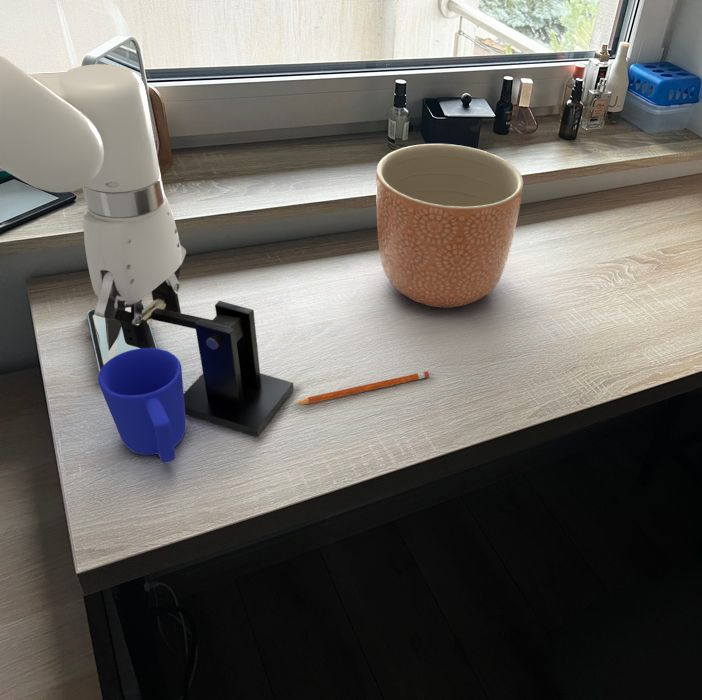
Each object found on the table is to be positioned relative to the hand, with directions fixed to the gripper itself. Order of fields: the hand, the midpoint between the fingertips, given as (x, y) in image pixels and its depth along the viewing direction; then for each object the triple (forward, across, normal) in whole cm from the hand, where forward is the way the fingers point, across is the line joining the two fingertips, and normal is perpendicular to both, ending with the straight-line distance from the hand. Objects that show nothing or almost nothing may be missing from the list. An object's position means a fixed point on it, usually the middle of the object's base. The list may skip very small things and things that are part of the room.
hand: (154, 330), depth 86 cm
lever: (-2, 0, +5) cm, 6 cm away
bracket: (+8, 0, +10) cm, 13 cm away
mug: (+8, +10, +6) cm, 14 cm away
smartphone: (+8, -4, -9) cm, 12 cm away
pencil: (+8, -8, +24) cm, 26 cm away
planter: (+8, -35, +25) cm, 44 cm away
